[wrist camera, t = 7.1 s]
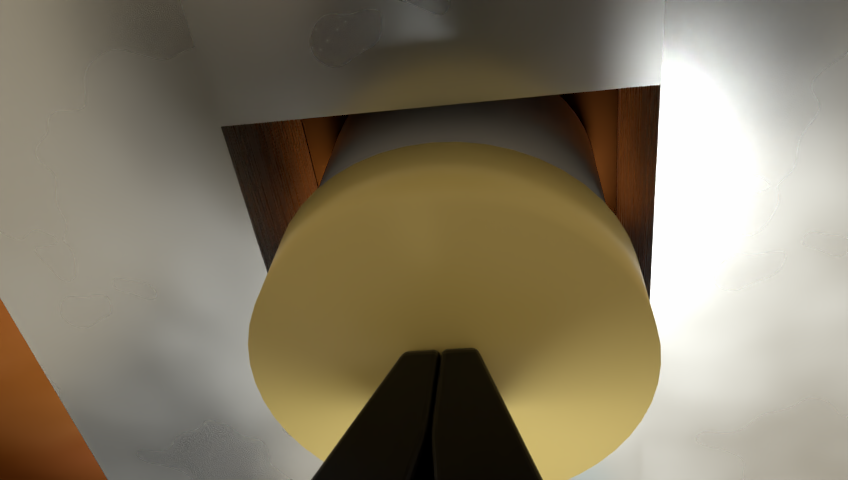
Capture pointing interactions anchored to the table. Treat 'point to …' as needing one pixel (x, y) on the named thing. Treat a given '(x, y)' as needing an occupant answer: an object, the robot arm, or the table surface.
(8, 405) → the table surface
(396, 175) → the button mustard
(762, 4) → the console panel
